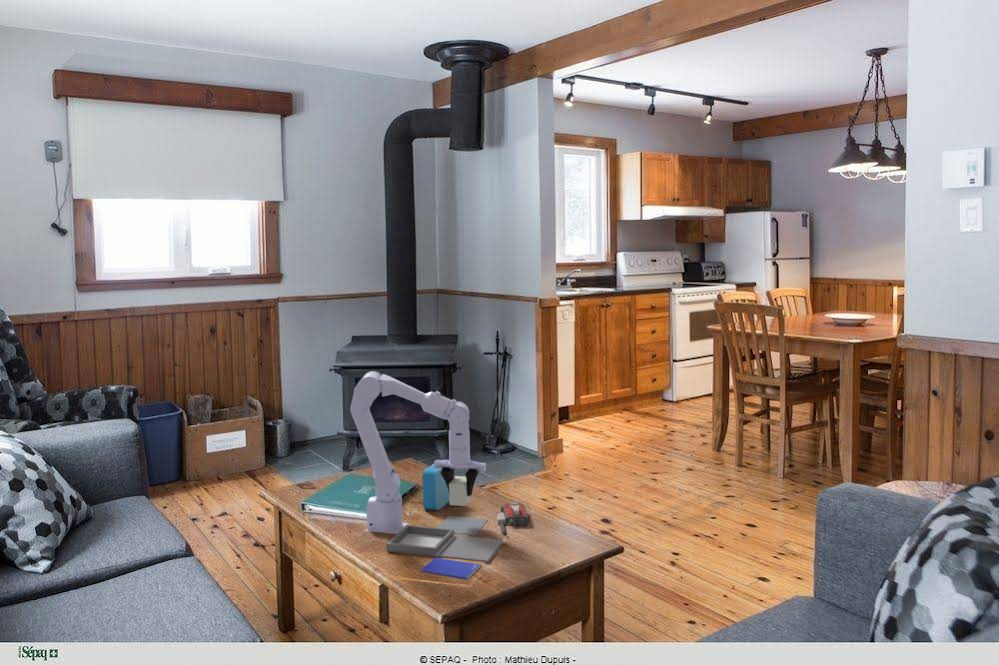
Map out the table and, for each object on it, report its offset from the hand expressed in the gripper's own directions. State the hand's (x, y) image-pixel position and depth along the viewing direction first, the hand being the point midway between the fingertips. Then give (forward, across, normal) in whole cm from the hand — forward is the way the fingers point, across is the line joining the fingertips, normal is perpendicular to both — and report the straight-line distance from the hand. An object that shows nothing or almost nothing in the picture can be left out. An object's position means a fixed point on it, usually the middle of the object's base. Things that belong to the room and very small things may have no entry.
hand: (460, 494), depth 219 cm
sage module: (+2, 0, 0) cm, 2 cm away
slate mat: (+9, 0, 0) cm, 9 cm away
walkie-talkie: (+10, -13, -7) cm, 18 cm away
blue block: (+10, +13, -16) cm, 23 cm away
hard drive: (+10, -7, +28) cm, 31 cm away
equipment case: (+9, -1, +15) cm, 18 cm away
